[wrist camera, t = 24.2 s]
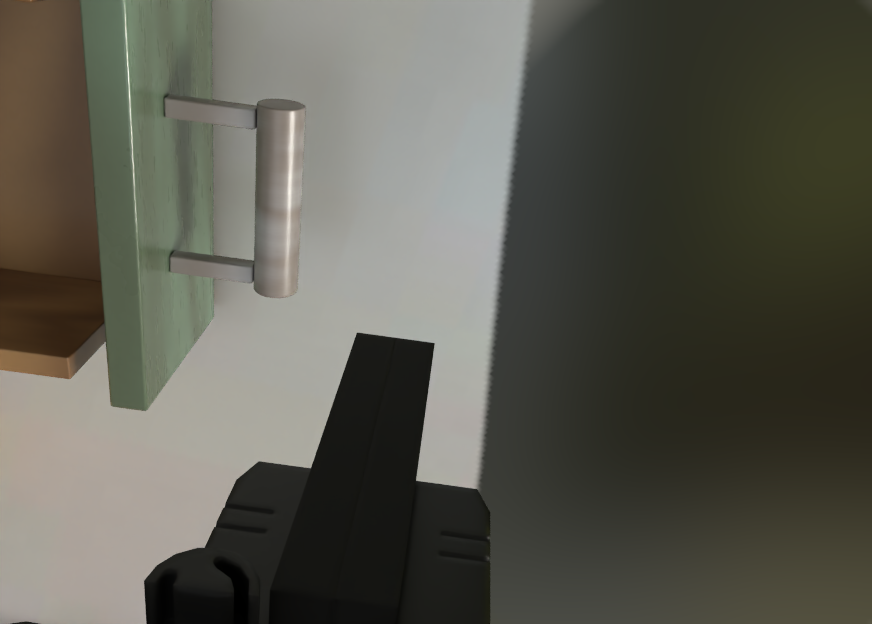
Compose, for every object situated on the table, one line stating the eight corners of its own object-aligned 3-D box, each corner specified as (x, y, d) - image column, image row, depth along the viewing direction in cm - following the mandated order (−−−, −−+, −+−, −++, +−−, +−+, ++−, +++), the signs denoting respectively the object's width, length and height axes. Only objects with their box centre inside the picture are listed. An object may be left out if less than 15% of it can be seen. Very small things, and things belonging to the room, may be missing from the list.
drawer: (338, -36, 25) (290, -26, 19) (317, 331, 31) (274, 429, 25) (-266, -117, 25) (-510, -133, 19) (-172, 265, 31) (-335, 346, 25)
